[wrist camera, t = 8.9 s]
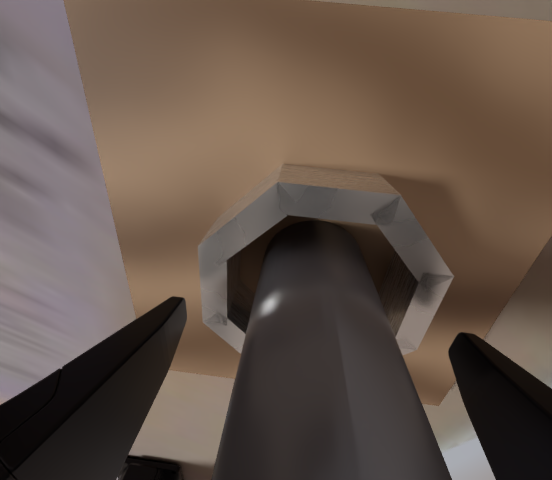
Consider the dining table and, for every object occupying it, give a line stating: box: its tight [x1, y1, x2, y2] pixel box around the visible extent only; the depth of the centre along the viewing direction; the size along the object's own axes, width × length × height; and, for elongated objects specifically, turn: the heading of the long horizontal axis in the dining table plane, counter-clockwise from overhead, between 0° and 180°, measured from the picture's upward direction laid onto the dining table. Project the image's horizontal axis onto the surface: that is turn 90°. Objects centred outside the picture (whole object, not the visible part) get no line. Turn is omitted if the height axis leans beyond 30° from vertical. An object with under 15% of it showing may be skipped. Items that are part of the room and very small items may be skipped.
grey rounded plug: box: [211, 220, 452, 480], centre depth 8 cm, size 4×4×9 cm
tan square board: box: [64, 0, 552, 406], centre depth 12 cm, size 18×18×1 cm
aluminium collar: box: [198, 164, 454, 355], centre depth 11 cm, size 9×9×2 cm
